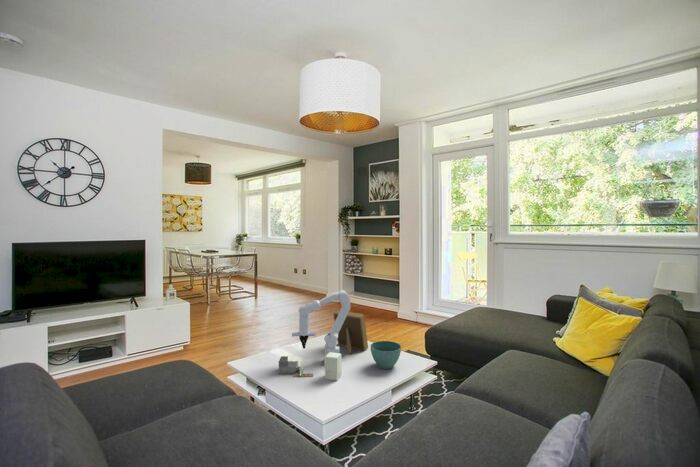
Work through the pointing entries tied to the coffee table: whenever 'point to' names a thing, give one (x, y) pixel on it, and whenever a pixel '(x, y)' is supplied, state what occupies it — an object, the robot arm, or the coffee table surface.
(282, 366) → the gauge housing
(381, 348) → the teal rounded bowl
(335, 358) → the supplement box
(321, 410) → the coffee table surface
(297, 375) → the gauge scale
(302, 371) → the gauge plunger
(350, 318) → the photo frame
